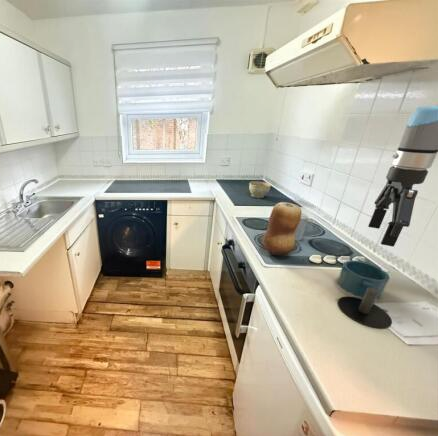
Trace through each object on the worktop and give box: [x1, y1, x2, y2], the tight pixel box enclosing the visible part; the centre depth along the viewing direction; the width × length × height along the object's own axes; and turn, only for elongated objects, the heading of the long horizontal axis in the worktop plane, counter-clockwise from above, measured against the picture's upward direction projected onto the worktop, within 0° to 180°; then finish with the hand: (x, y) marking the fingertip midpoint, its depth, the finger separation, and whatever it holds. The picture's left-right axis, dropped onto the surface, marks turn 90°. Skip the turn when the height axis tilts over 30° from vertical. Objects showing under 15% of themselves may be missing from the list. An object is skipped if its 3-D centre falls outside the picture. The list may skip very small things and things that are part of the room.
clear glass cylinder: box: [294, 212, 310, 241], centre depth 128 cm, size 10×10×12 cm
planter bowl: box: [248, 181, 272, 199], centre depth 194 cm, size 16×16×11 cm
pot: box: [337, 259, 390, 300], centre depth 88 cm, size 13×18×8 cm
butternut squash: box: [262, 201, 303, 256], centre depth 109 cm, size 14×13×25 cm
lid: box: [337, 287, 393, 330], centre depth 77 cm, size 14×14×10 cm
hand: (379, 235), depth 74 cm, fingers open, 13 cm apart
